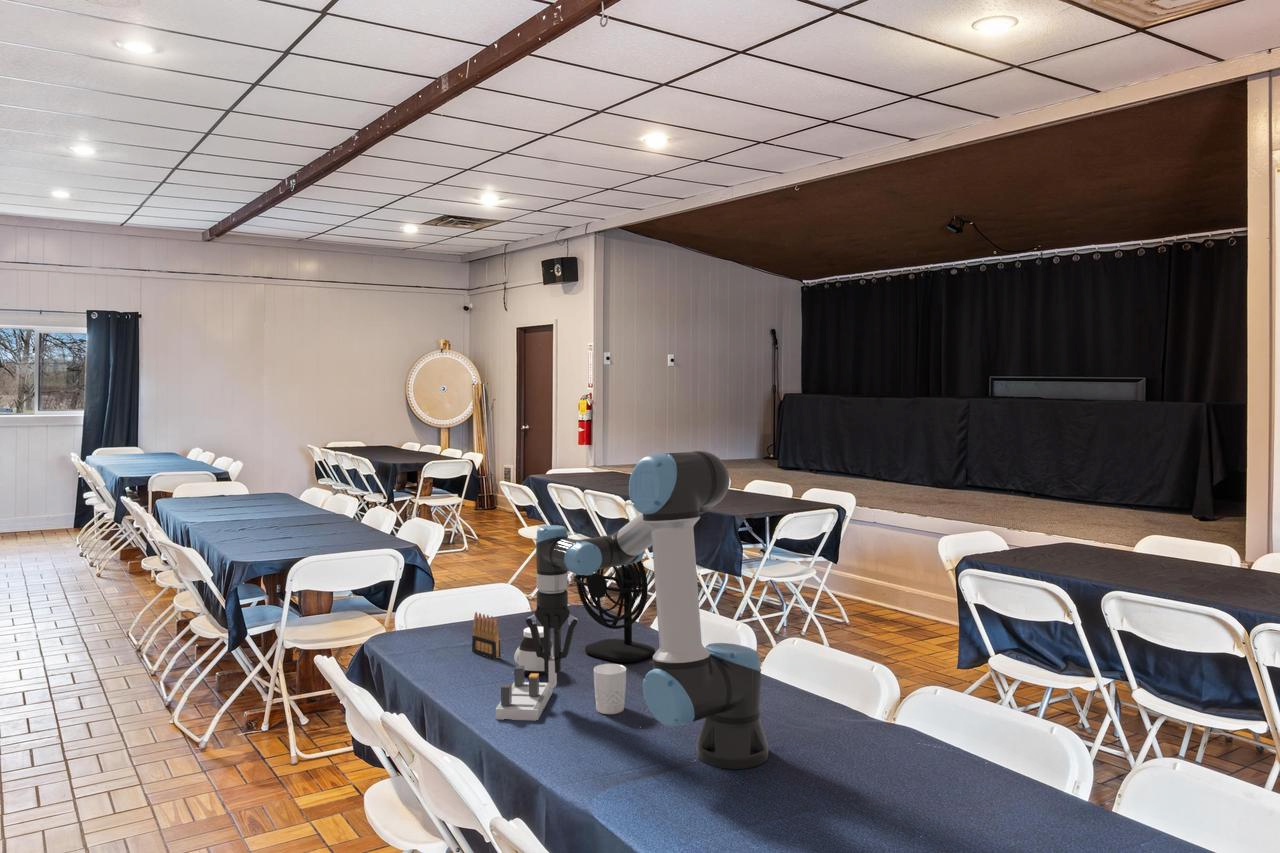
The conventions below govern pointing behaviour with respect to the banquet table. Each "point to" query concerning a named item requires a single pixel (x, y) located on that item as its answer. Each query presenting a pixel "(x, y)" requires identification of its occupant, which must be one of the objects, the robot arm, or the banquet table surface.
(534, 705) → the breaker panel
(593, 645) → the desk fan
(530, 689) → the handle
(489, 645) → the ammunition clip
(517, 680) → the handle
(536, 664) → the spread jar
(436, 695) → the banquet table surface
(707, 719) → the robot arm
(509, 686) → the handle
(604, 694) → the white cup
